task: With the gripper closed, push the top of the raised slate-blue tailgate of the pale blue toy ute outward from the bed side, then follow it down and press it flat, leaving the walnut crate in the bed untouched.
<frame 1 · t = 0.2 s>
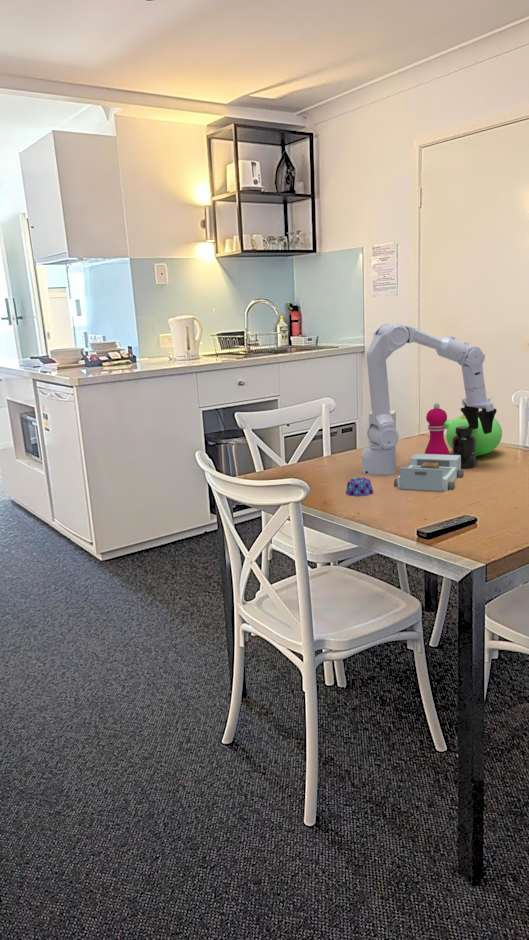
hand: (481, 431, 200), 11 cm above the table, tool pointing down, fingers open, 7 cm apart
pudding: (359, 499, 178), on the table
skincare box: (383, 458, 220), on the table
ute bed: (427, 488, 183), on the table
supplement bottle: (463, 466, 203), on the table
tailgate: (420, 480, 175), point 4 cm above the table, hinge at 94.0°
crate: (430, 478, 185), point 2 cm above the table, touching ute bed
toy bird: (472, 455, 216), on the table
pepper mill: (436, 469, 202), on the table
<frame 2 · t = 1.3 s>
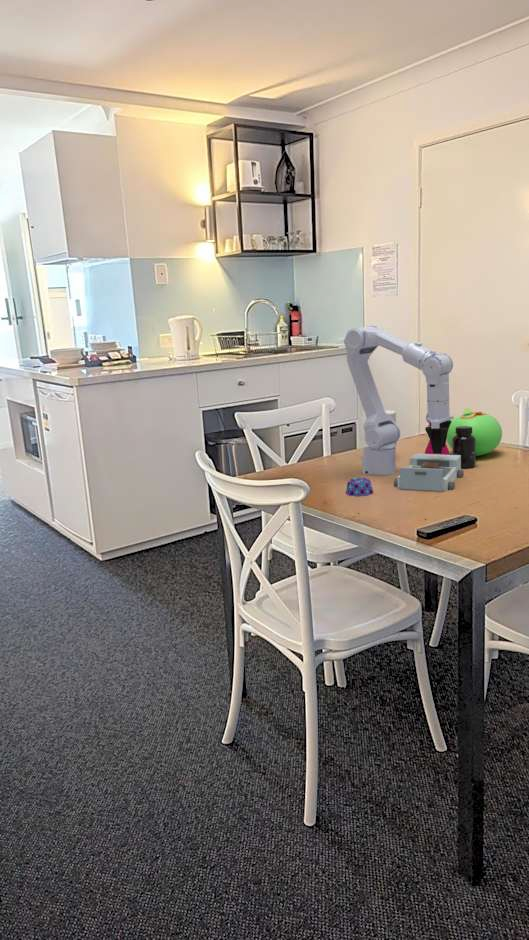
hand: (439, 450, 181), 10 cm above the table, tool pointing down, fingers open, 7 cm apart
nothing on the table moved.
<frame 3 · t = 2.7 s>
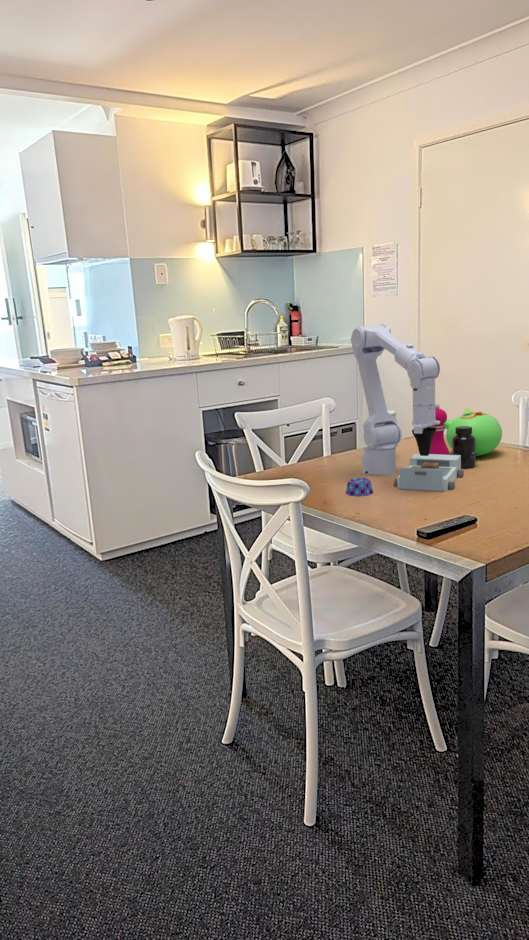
hand: (424, 455, 177), 10 cm above the table, tool pointing down, fingers closed
nothing on the table moved.
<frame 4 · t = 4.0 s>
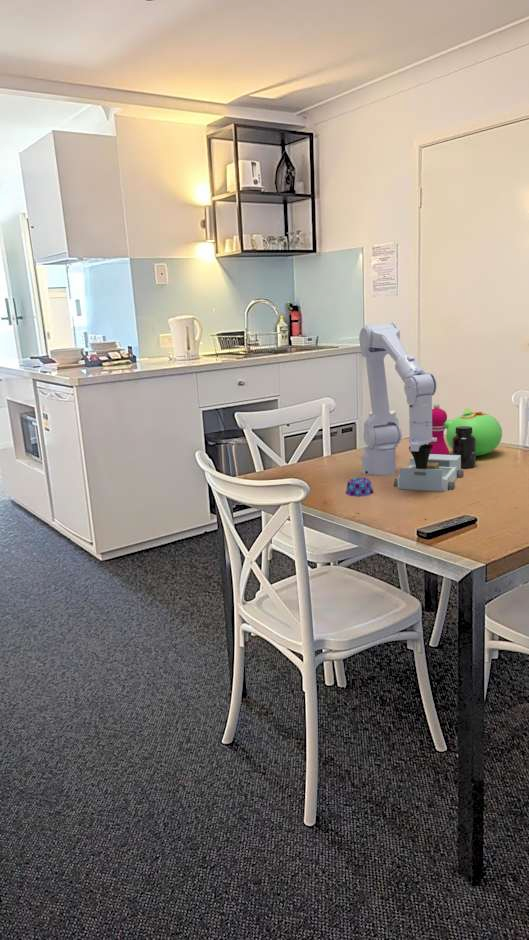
hand: (421, 472, 175), 6 cm above the table, tool pointing down, fingers closed, pressing on tailgate
tailgate: (420, 480, 175), point 4 cm above the table, hinge at 90.1°, touching gripper
everything else where it was.
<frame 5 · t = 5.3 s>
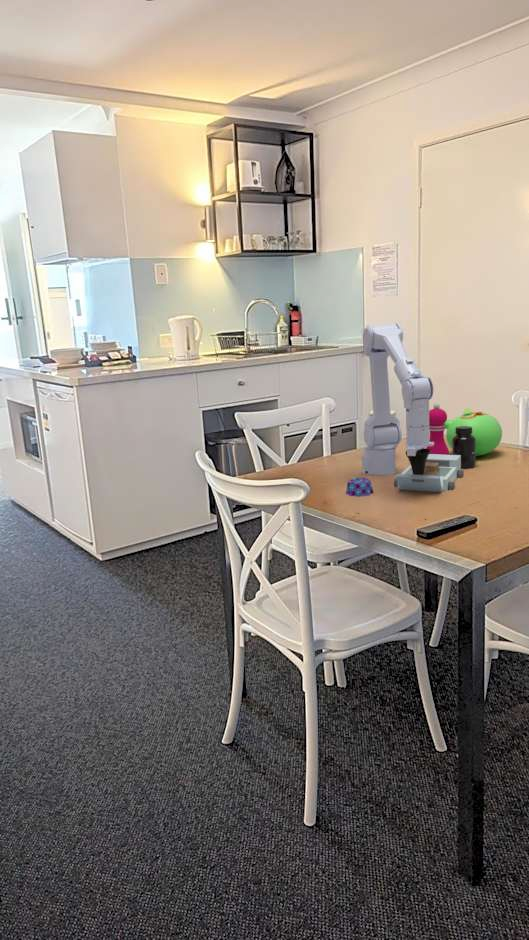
hand: (418, 477, 173), 6 cm above the table, tool pointing down, fingers closed, pressing on tailgate
tailgate: (419, 484, 174), point 4 cm above the table, hinge at 54.3°, touching gripper
everything else where it was.
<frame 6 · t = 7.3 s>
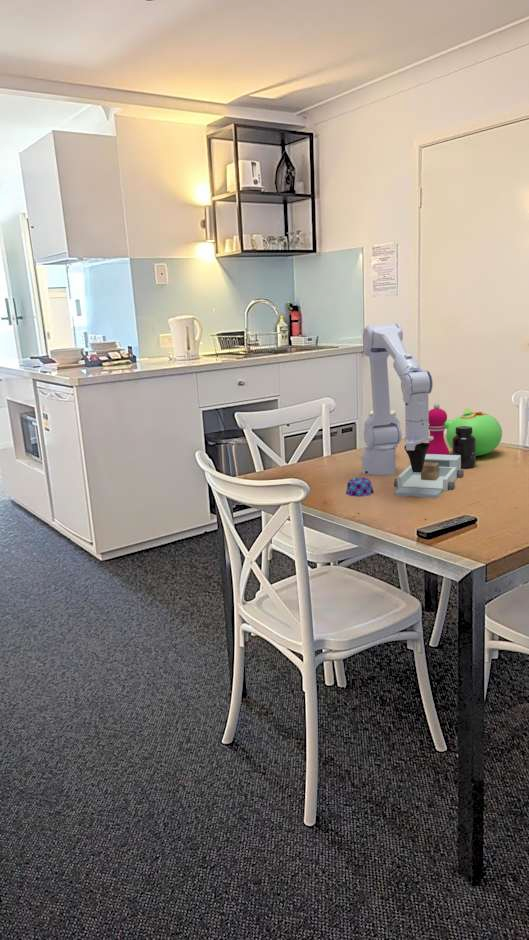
hand: (417, 471, 172), 7 cm above the table, tool pointing down, fingers closed
tailgate: (418, 492, 173), point 2 cm above the table, hinge at 2.8°
everything else where it was.
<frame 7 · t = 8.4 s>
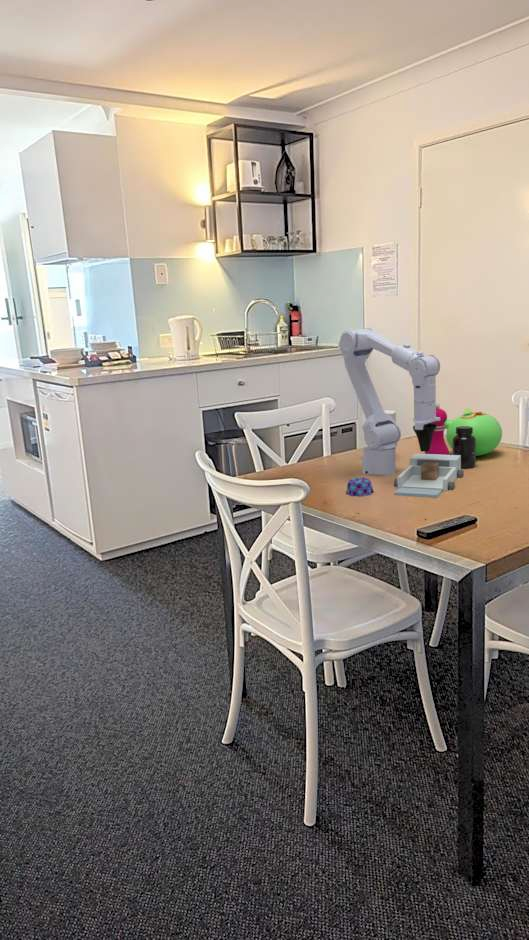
hand: (425, 451, 182), 10 cm above the table, tool pointing down, fingers closed
nothing on the table moved.
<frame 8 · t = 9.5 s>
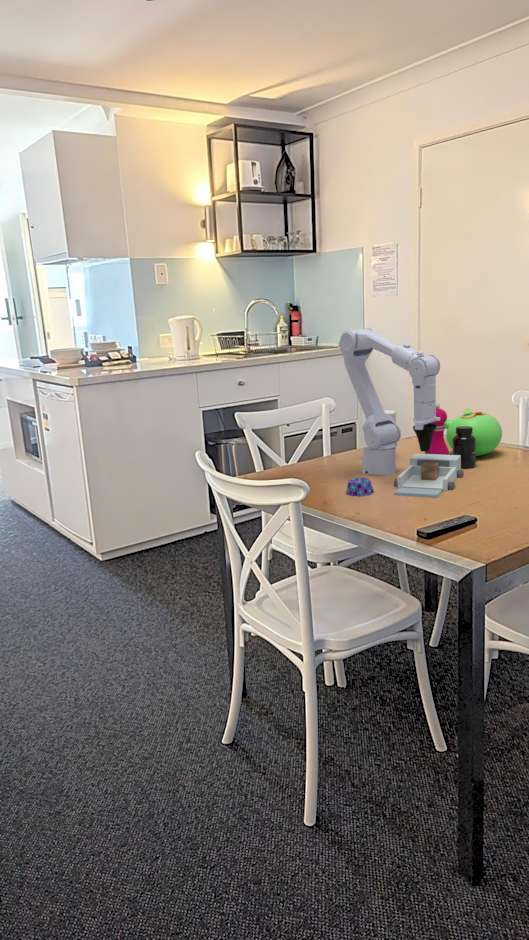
hand: (425, 451, 182), 10 cm above the table, tool pointing down, fingers closed
at the end: tailgate at +2° (first picture: +94°); crate moved 0.1 cm from its start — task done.
